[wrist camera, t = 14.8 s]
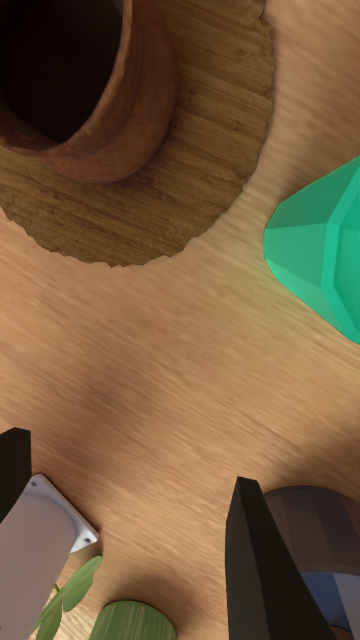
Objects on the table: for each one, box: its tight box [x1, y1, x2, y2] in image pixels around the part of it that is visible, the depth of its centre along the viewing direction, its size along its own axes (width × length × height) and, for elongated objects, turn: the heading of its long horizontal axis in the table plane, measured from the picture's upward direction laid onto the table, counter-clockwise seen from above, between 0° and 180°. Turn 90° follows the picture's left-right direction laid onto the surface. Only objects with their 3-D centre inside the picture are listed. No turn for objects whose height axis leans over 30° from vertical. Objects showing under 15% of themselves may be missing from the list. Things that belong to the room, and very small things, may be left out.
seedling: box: [32, 556, 103, 640], centre depth 26 cm, size 7×8×7 cm
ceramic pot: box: [0, 0, 276, 268], centre depth 12 cm, size 18×18×7 cm
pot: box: [264, 486, 360, 567], centre depth 20 cm, size 10×10×6 cm
